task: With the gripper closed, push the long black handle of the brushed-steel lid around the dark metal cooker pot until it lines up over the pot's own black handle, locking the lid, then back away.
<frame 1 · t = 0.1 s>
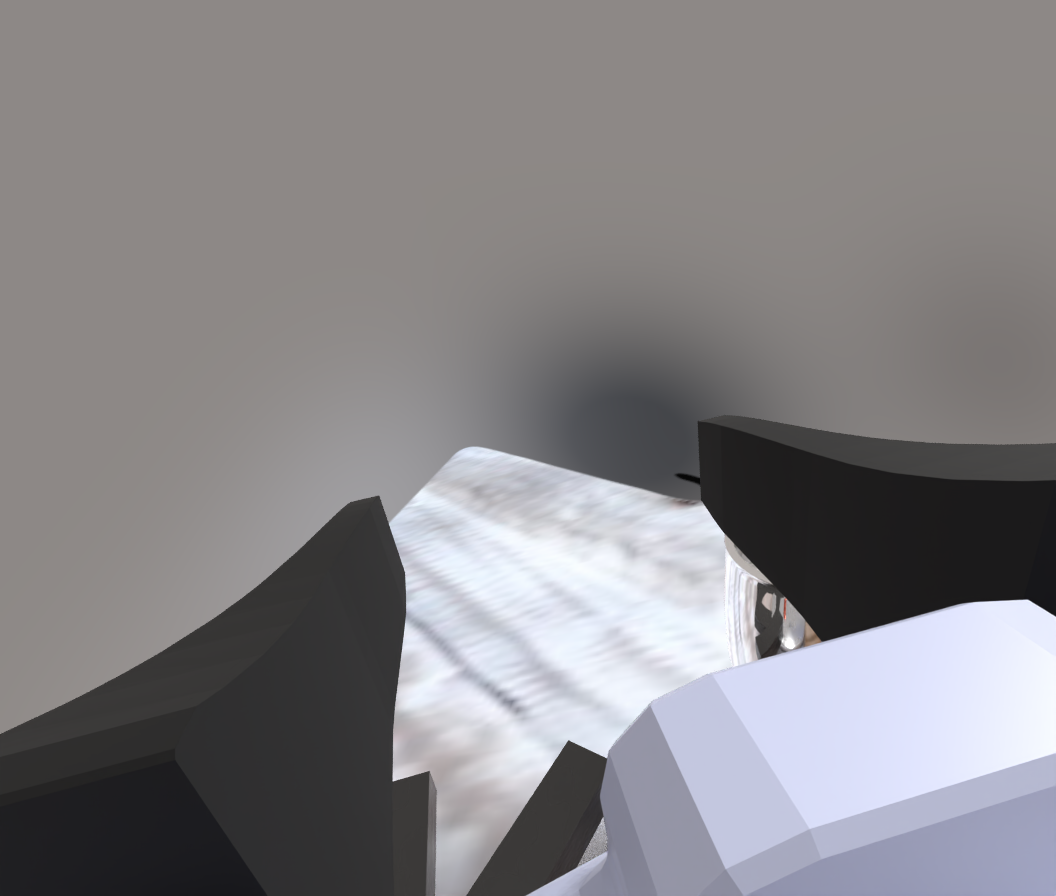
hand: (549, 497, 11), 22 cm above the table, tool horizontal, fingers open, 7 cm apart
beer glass: (820, 819, 24), on the table
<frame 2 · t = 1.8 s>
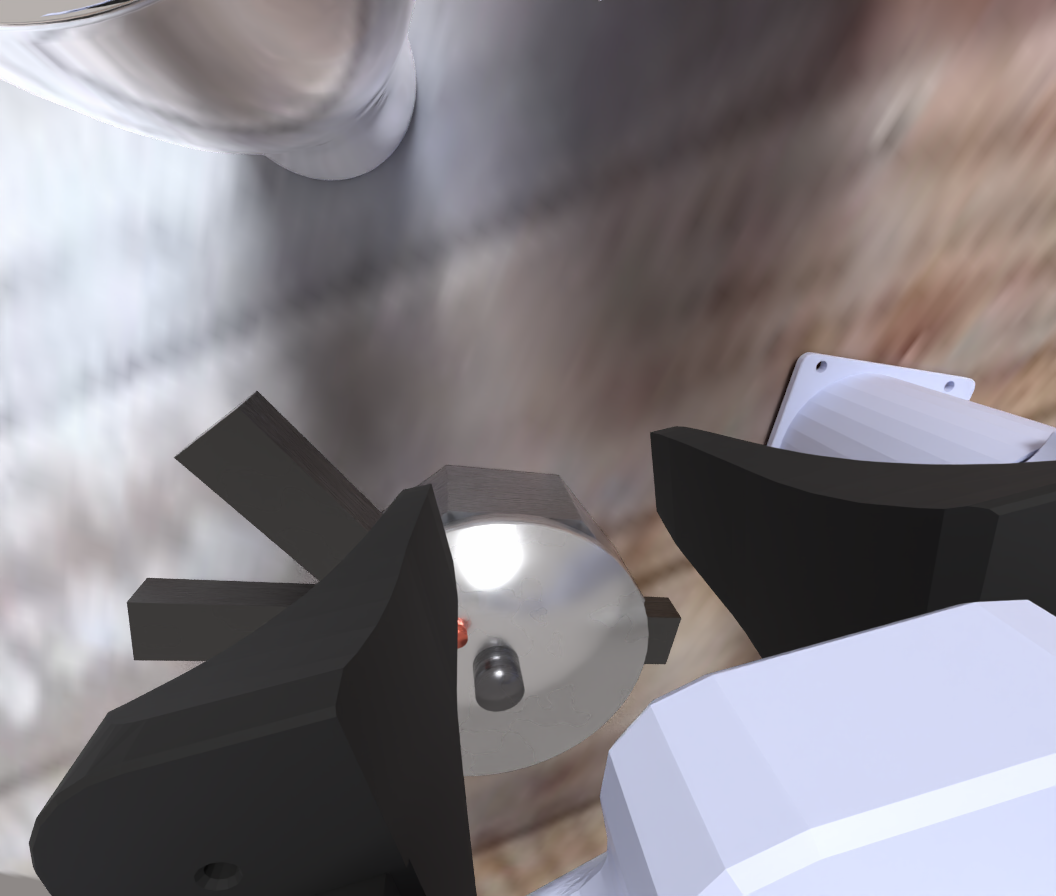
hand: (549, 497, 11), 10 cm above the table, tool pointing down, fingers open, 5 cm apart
lid: (440, 619, 18), point 5 cm above the table, hinge at -45.0°
pot: (484, 584, 25), on the table
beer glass: (318, 74, 16), on the table
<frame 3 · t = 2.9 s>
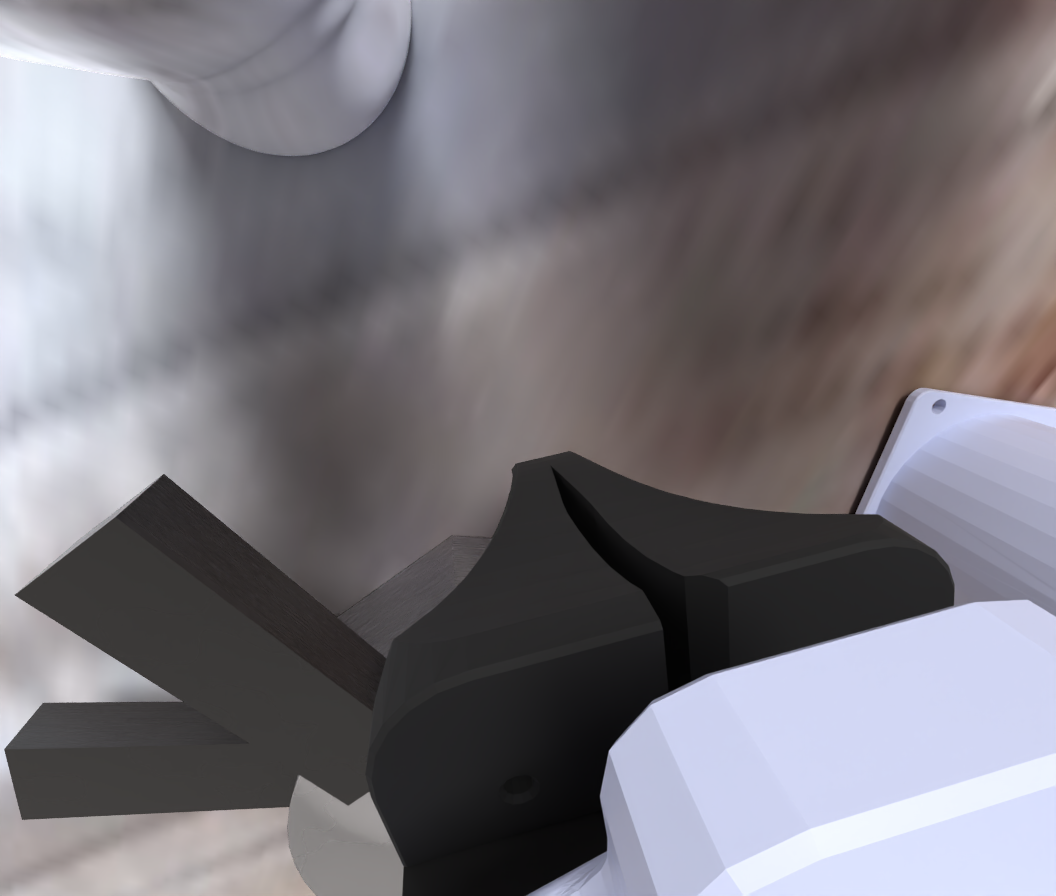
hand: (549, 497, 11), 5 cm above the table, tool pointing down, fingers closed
lid: (444, 770, 13), point 5 cm above the table, hinge at -45.0°
pot: (498, 677, 19), on the table
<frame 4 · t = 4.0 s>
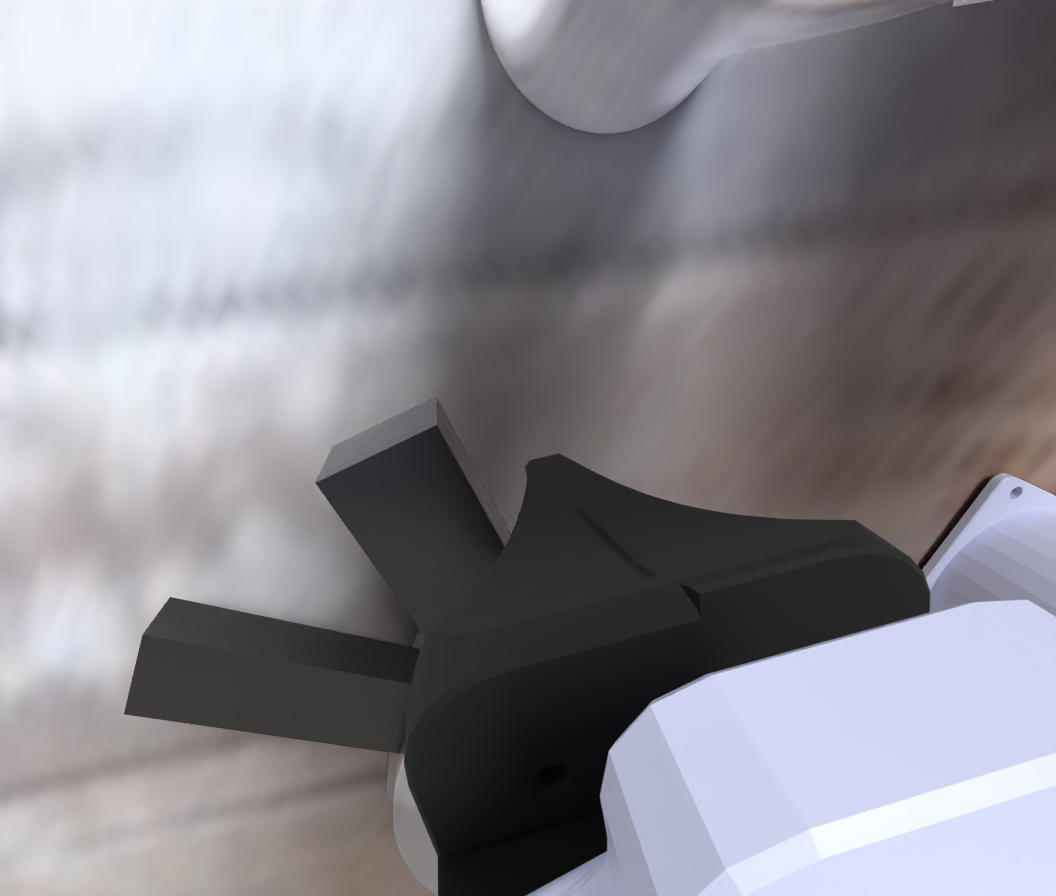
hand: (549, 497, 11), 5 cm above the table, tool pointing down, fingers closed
lid: (571, 737, 13), point 5 cm above the table, hinge at -42.7°, touching gripper
pot: (569, 665, 20), on the table
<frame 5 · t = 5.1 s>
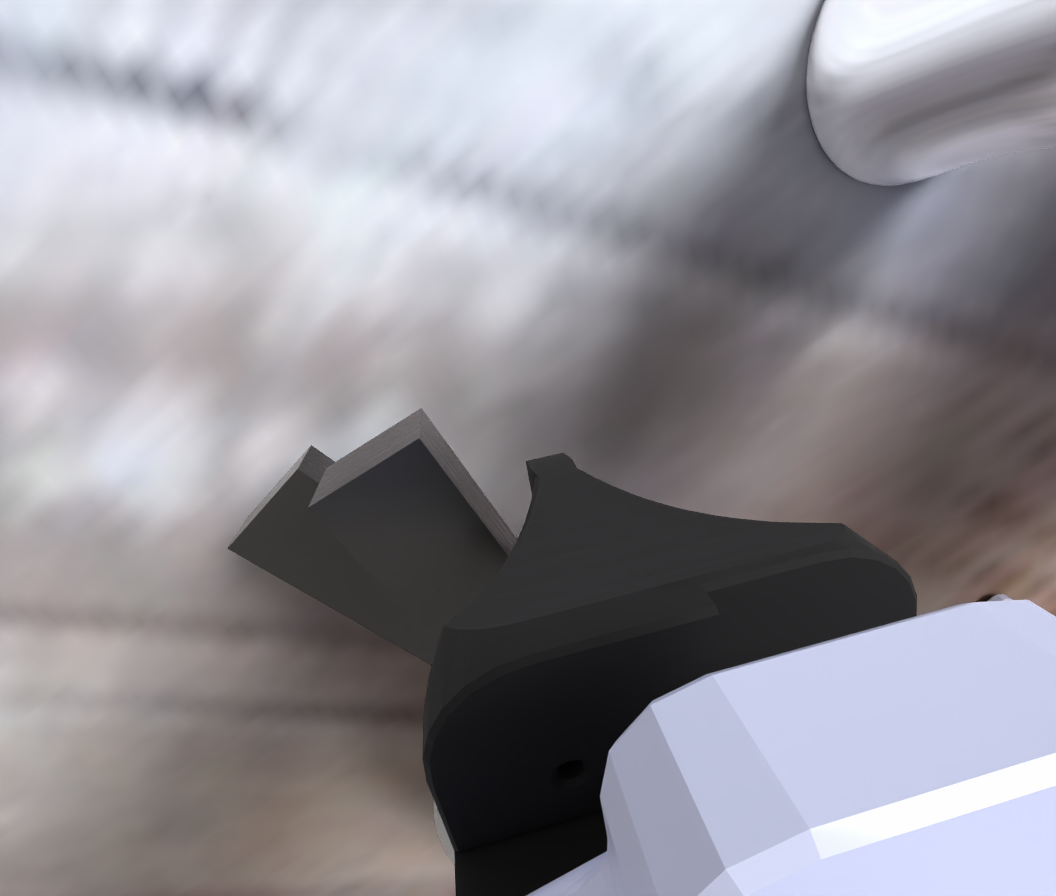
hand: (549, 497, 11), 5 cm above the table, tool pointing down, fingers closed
lid: (599, 728, 13), point 5 cm above the table, hinge at -15.2°, touching gripper
pot: (597, 654, 20), on the table
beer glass: (903, 60, 14), on the table
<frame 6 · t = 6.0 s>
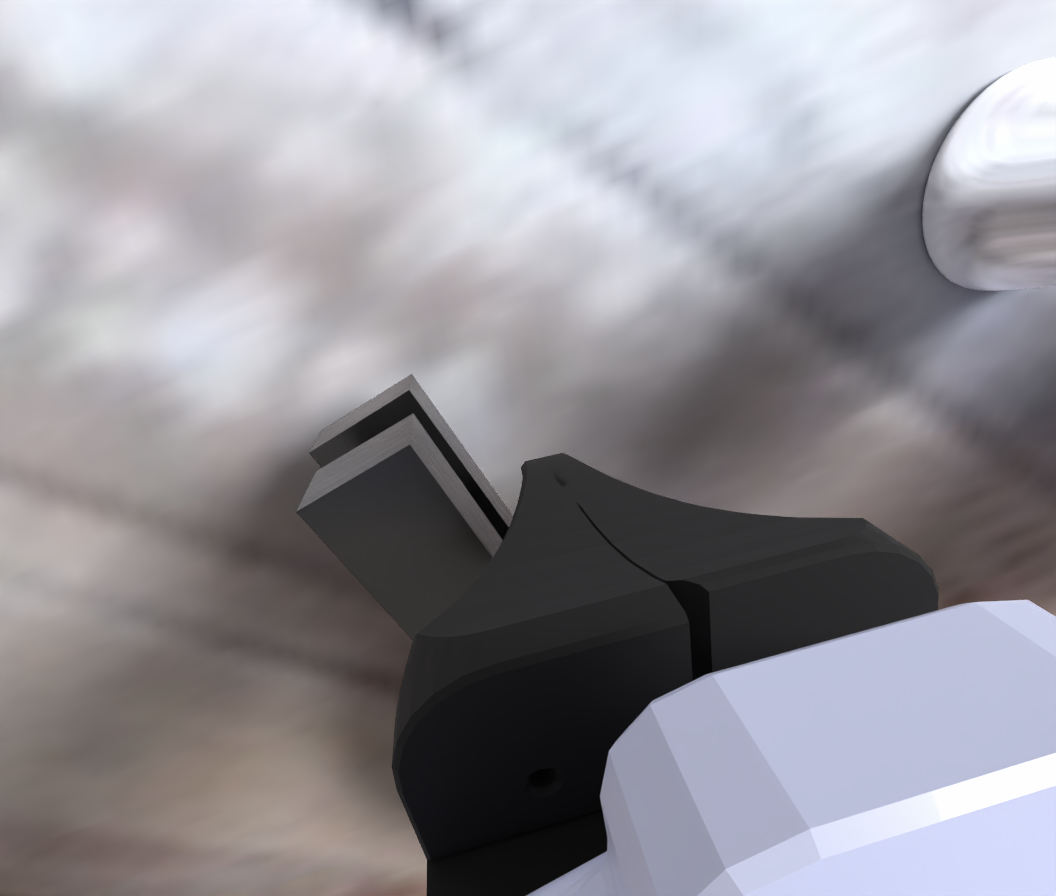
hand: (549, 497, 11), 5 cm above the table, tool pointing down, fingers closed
lid: (585, 736, 13), point 5 cm above the table, hinge at -1.2°, touching gripper
pot: (586, 660, 20), on the table
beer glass: (1005, 184, 16), on the table
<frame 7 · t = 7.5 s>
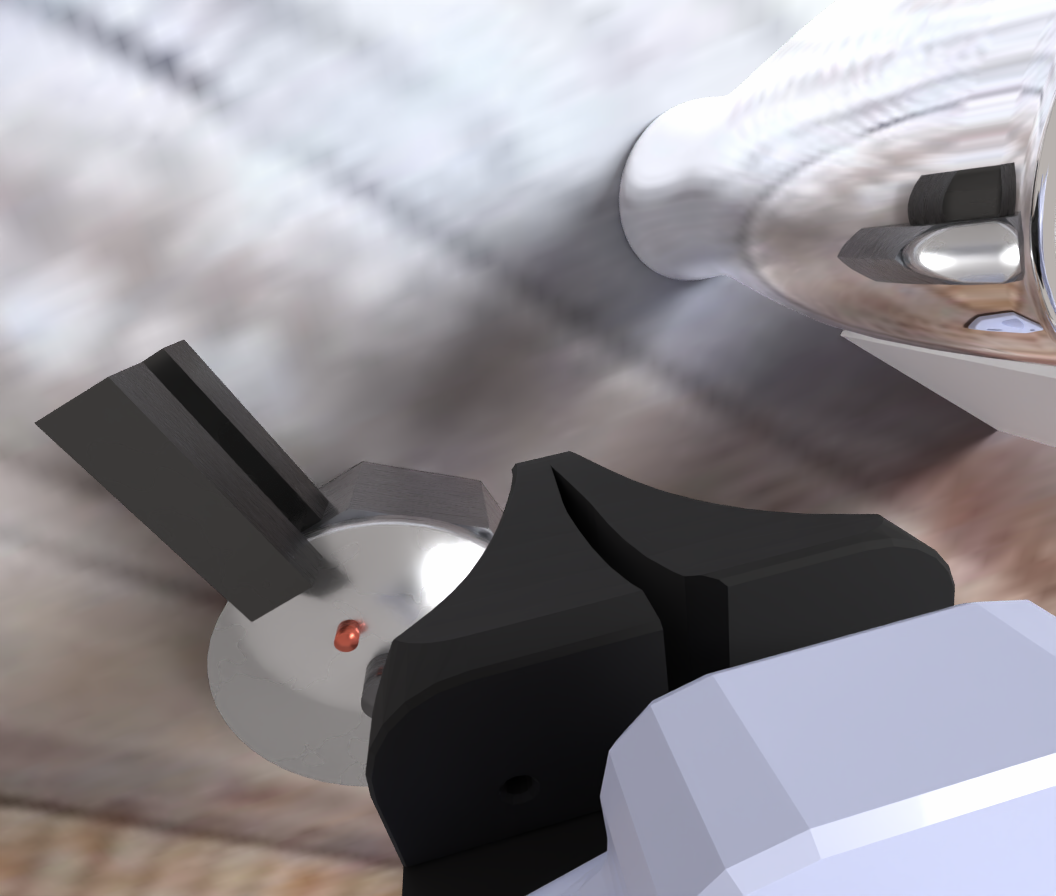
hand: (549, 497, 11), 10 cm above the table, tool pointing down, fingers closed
milk: (1007, 265, 23), on the table
lid: (331, 620, 18), point 5 cm above the table, hinge at -1.0°
pot: (398, 587, 24), on the table
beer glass: (692, 195, 20), on the table
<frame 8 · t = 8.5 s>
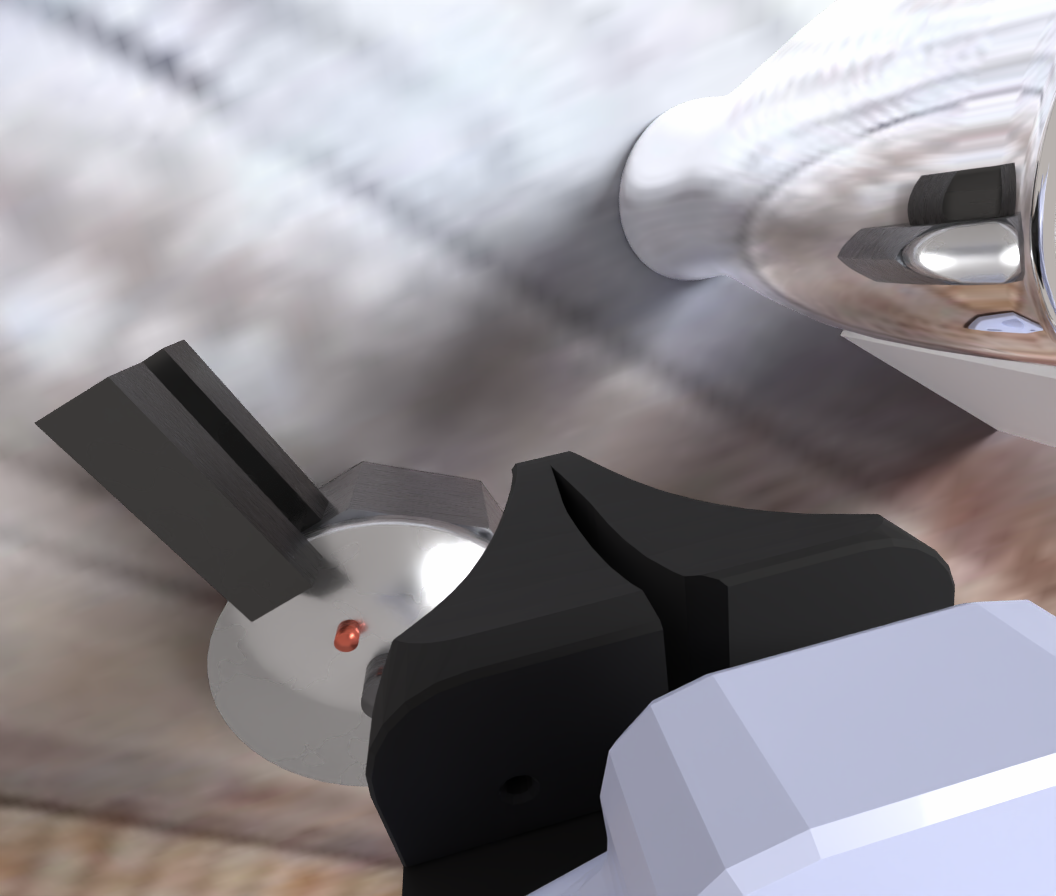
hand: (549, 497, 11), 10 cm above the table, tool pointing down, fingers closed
milk: (1007, 265, 23), on the table
lid: (331, 620, 18), point 5 cm above the table, hinge at -1.0°
pot: (398, 587, 24), on the table
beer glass: (692, 195, 20), on the table
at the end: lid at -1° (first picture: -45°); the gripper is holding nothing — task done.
